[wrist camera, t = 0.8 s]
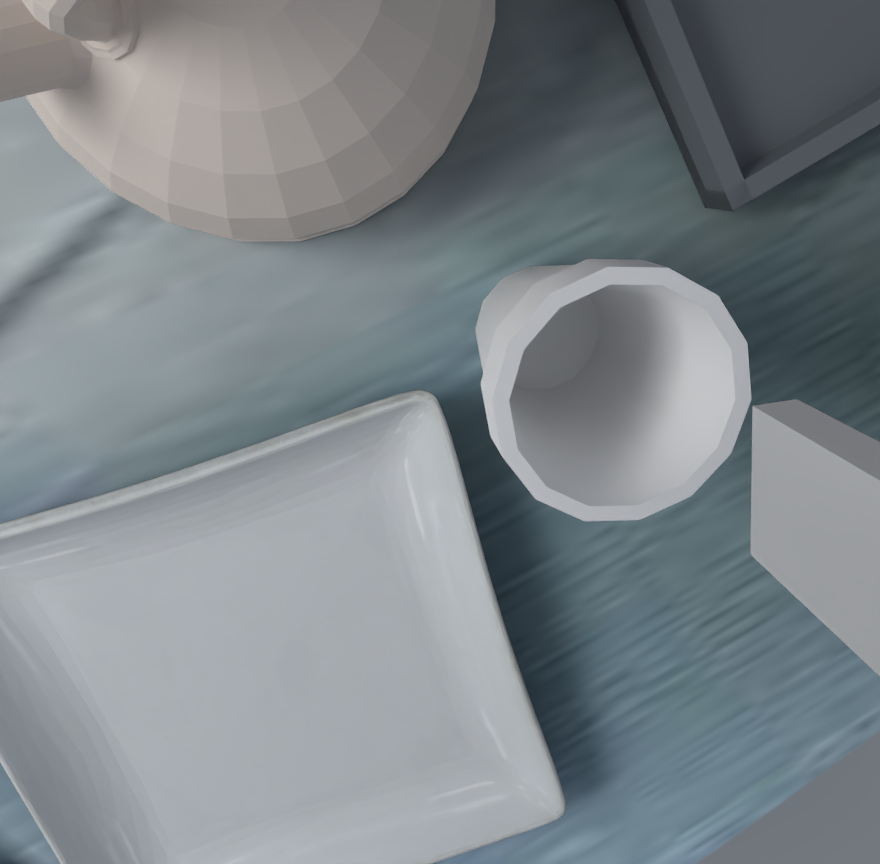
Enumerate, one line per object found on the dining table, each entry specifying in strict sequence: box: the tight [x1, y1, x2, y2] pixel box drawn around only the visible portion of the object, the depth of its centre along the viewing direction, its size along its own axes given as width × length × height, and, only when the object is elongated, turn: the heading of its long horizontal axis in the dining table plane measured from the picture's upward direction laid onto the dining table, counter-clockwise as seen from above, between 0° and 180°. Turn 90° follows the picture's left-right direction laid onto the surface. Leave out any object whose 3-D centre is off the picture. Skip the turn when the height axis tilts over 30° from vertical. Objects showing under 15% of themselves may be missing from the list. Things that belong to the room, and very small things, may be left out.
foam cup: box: [475, 259, 751, 521], centre depth 35 cm, size 10×9×13 cm
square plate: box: [0, 390, 566, 864], centre depth 44 cm, size 27×27×4 cm
